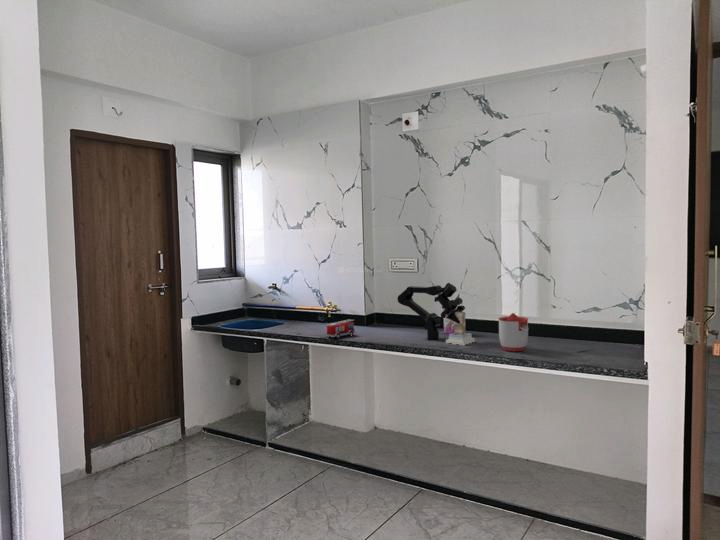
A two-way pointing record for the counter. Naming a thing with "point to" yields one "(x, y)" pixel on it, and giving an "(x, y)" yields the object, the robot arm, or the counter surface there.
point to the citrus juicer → (513, 332)
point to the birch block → (460, 327)
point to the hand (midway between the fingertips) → (461, 322)
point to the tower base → (460, 339)
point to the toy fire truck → (340, 328)
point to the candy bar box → (448, 325)
